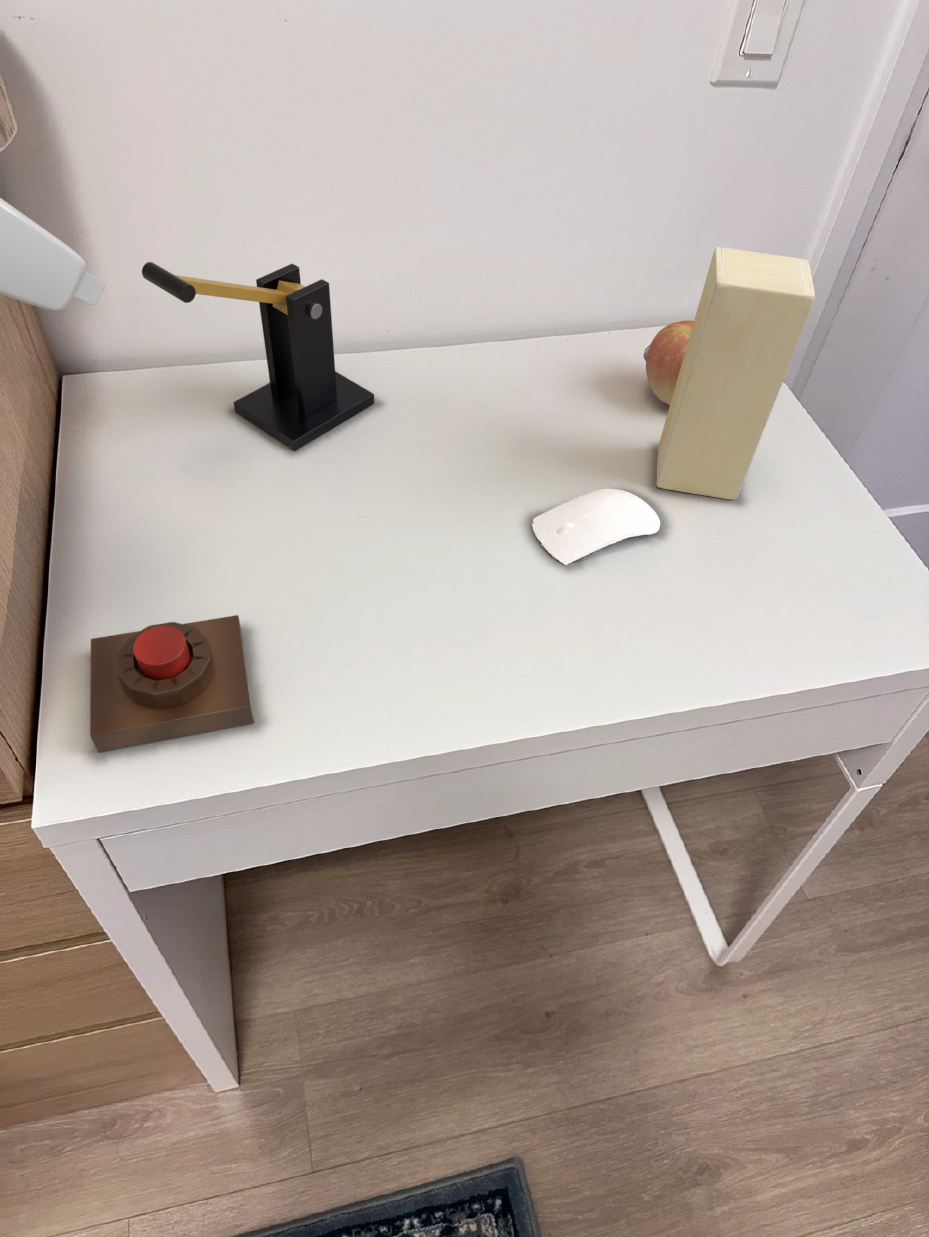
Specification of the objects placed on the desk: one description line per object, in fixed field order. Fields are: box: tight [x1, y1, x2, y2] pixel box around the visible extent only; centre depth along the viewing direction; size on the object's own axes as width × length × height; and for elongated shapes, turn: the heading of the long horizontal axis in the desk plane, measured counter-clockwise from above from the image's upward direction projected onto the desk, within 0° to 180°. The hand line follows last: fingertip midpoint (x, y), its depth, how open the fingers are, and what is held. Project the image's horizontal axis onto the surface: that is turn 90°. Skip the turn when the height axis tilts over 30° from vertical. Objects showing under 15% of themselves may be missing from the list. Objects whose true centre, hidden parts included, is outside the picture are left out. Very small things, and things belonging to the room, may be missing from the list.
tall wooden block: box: [656, 246, 816, 500], centre depth 78 cm, size 8×7×21 cm
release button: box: [133, 626, 190, 680], centre depth 63 cm, size 4×4×2 cm
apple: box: [645, 320, 694, 406], centre depth 92 cm, size 9×9×8 cm
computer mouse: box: [531, 488, 661, 566], centre depth 79 cm, size 7×12×2 cm, turn 115°
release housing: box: [89, 614, 255, 753], centre depth 65 cm, size 11×9×4 cm
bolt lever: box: [141, 261, 306, 315], centre depth 75 cm, size 16×5×2 cm, turn 139°
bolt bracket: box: [233, 263, 375, 452], centre depth 85 cm, size 11×9×14 cm
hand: (56, 265), depth 61 cm, fingers open, 8 cm apart
